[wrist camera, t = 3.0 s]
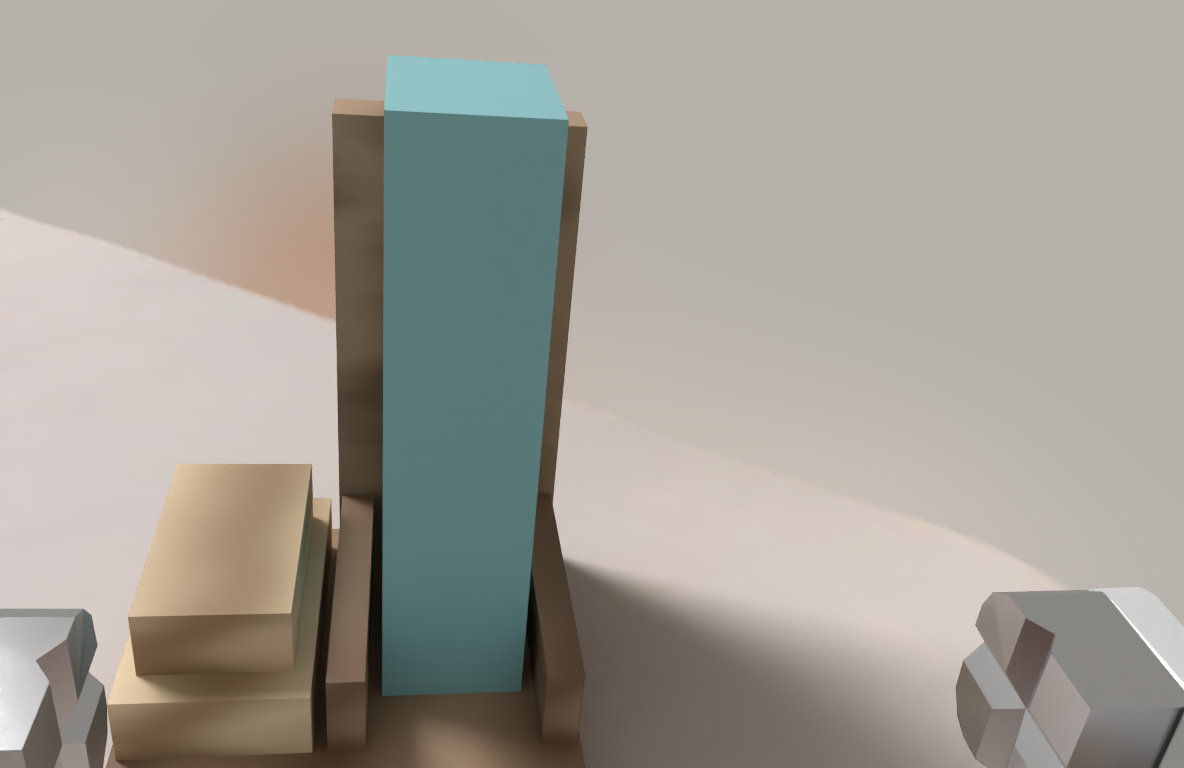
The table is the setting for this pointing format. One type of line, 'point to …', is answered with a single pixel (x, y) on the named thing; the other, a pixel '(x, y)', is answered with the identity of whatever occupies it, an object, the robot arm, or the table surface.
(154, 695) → the lower oak offcut
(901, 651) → the table surface
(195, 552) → the upper oak offcut
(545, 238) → the tall teal block
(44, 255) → the table surface
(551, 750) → the walnut rack
